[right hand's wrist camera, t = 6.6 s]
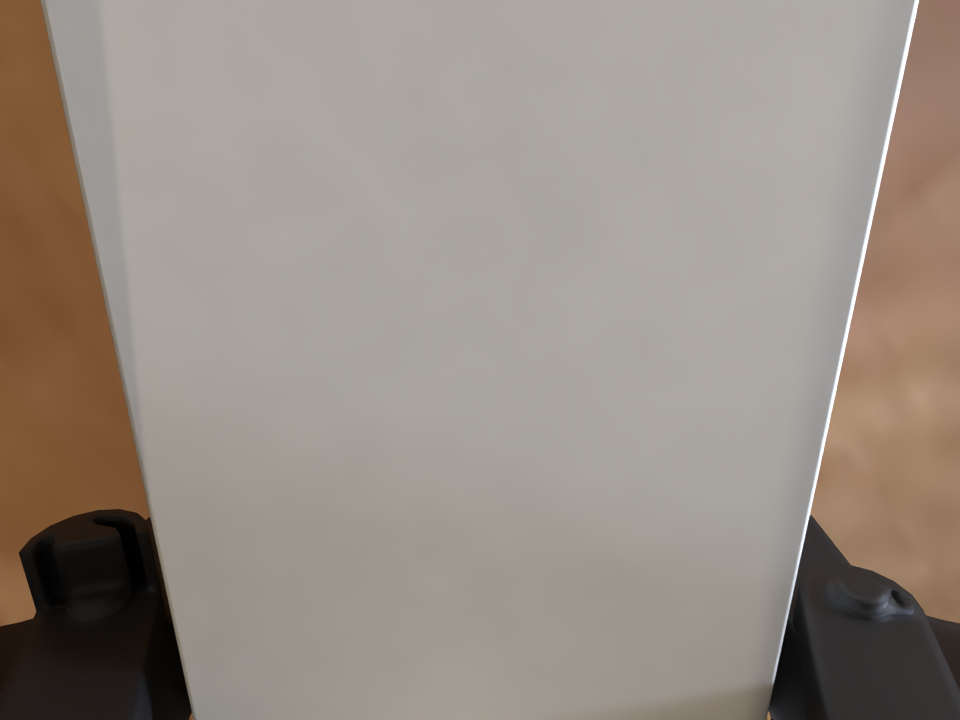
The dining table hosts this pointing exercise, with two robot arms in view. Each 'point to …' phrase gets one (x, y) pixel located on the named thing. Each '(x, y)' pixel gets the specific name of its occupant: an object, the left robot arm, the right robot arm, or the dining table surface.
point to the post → (479, 334)
